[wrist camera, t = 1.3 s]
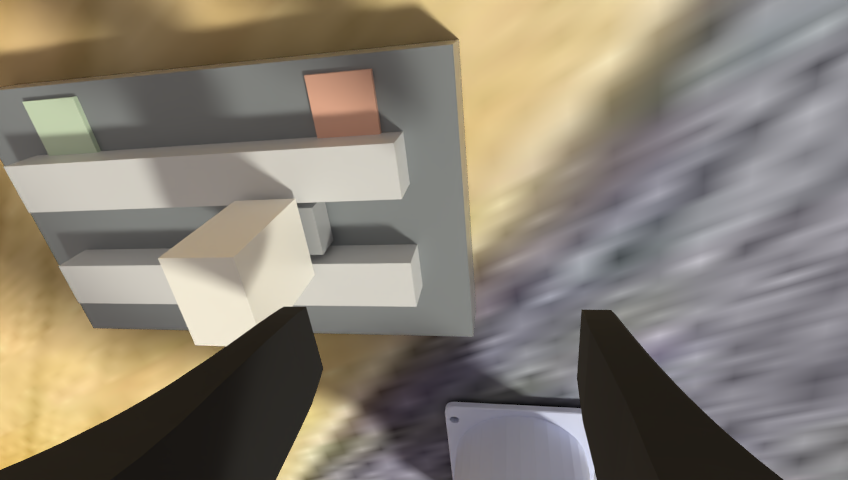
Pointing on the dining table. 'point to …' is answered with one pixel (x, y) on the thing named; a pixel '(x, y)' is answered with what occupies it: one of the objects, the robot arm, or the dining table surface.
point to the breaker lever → (245, 265)
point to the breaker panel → (279, 114)
